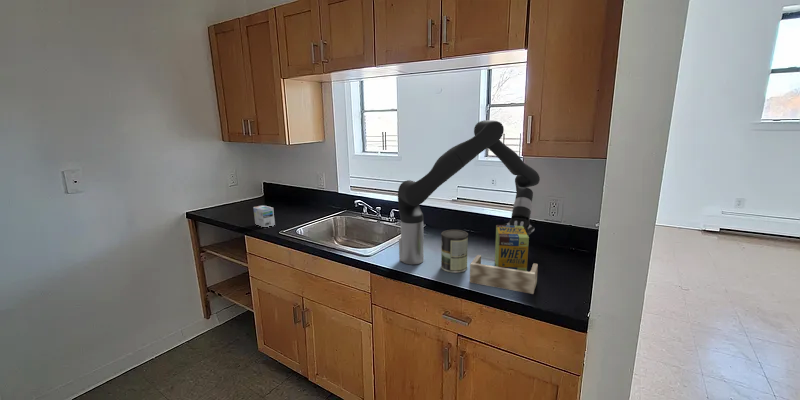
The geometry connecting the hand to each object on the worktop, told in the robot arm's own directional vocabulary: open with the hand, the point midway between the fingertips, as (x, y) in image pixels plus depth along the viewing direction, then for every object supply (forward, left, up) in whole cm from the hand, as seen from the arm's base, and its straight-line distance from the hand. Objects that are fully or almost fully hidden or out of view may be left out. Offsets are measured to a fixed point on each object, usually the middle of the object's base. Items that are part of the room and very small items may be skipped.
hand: (515, 245), depth 151 cm
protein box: (0, -12, -6) cm, 13 cm away
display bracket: (0, -25, -5) cm, 26 cm away
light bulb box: (-136, -5, -6) cm, 136 cm away
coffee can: (-20, -19, -6) cm, 28 cm away
